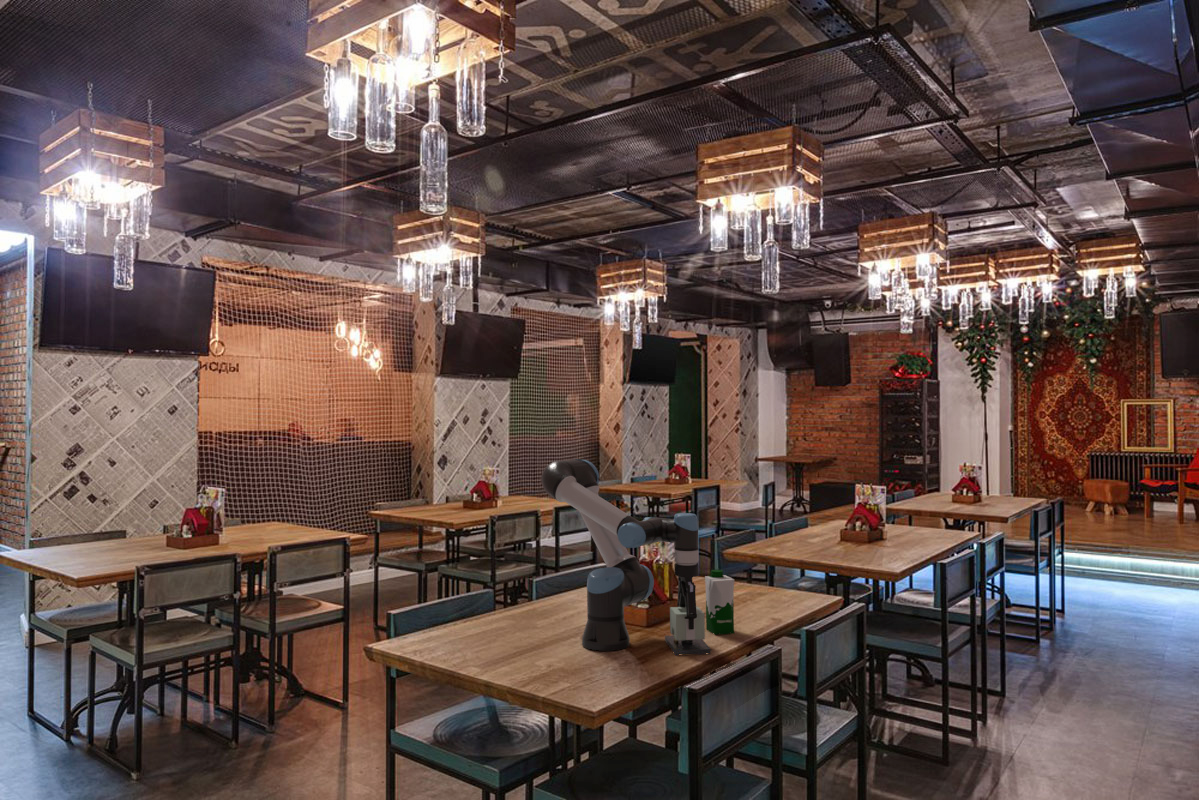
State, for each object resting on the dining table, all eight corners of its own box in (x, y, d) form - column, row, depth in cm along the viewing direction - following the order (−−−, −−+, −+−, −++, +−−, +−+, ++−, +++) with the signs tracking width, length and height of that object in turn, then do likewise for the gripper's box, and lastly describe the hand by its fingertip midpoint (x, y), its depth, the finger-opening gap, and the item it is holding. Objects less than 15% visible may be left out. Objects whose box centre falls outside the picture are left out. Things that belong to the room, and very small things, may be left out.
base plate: (675, 655, 237) (675, 622, 237) (664, 640, 253) (664, 609, 253) (710, 653, 238) (710, 620, 238) (698, 639, 254) (697, 608, 254)
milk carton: (726, 627, 269) (725, 568, 269) (737, 634, 260) (737, 573, 260) (702, 628, 266) (702, 570, 267) (713, 636, 258) (713, 575, 258)
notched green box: (676, 640, 241) (675, 614, 241) (670, 632, 249) (669, 607, 250) (704, 639, 242) (704, 613, 242) (697, 631, 251) (697, 606, 251)
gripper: (667, 557, 256) (668, 626, 256) (682, 570, 235) (682, 645, 234) (690, 556, 257) (690, 625, 257) (706, 569, 236) (707, 644, 235)
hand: (687, 635), depth 246 cm, fingers closed on notched green box, 9 cm apart
